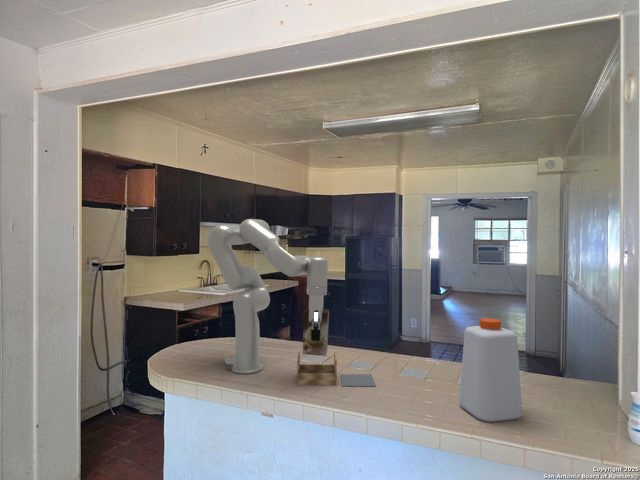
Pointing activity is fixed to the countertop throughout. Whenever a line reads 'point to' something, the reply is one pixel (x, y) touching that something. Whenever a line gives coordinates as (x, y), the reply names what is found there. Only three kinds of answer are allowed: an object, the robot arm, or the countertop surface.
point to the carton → (316, 373)
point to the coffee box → (320, 346)
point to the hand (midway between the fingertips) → (315, 337)
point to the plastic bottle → (490, 372)
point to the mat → (357, 380)
